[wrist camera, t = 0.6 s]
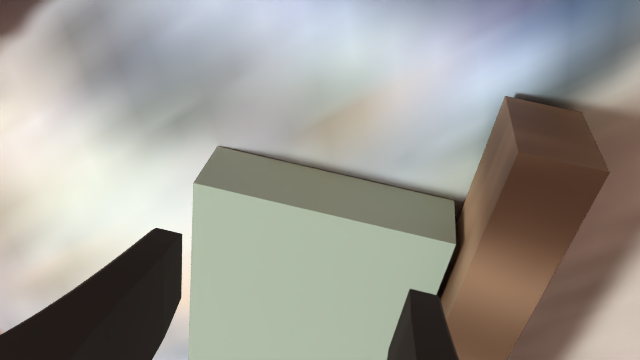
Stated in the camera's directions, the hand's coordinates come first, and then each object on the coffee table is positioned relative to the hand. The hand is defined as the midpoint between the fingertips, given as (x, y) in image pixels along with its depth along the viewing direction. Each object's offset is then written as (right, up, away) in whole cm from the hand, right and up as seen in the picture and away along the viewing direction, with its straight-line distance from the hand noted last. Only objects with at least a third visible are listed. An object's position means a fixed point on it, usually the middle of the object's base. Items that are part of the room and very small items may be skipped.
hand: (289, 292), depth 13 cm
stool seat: (0, -1, +11) cm, 11 cm away
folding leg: (+6, -2, +10) cm, 12 cm away
